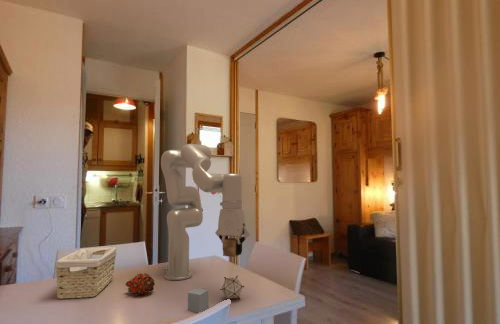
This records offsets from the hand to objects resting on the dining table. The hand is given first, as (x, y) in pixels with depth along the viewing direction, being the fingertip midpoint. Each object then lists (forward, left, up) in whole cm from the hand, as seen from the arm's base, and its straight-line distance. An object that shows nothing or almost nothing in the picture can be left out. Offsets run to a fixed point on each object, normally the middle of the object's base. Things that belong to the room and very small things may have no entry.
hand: (232, 253), depth 111 cm
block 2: (0, 0, -1) cm, 1 cm away
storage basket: (-59, -17, -17) cm, 64 cm away
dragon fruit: (-35, -12, -17) cm, 41 cm away
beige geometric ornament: (0, 0, -17) cm, 17 cm away
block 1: (-6, -13, -17) cm, 22 cm away
